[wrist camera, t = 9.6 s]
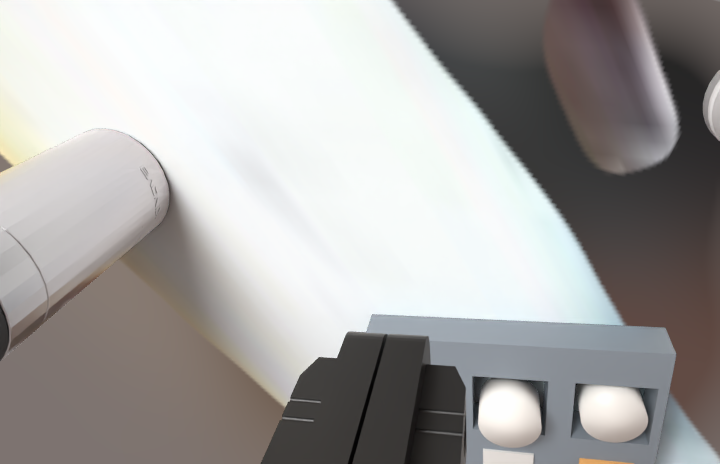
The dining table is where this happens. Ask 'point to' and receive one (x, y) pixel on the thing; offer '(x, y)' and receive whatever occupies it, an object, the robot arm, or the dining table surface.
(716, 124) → the travel mug
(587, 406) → the button
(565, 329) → the button board
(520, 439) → the middle button
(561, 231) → the dining table surface
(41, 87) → the dining table surface
